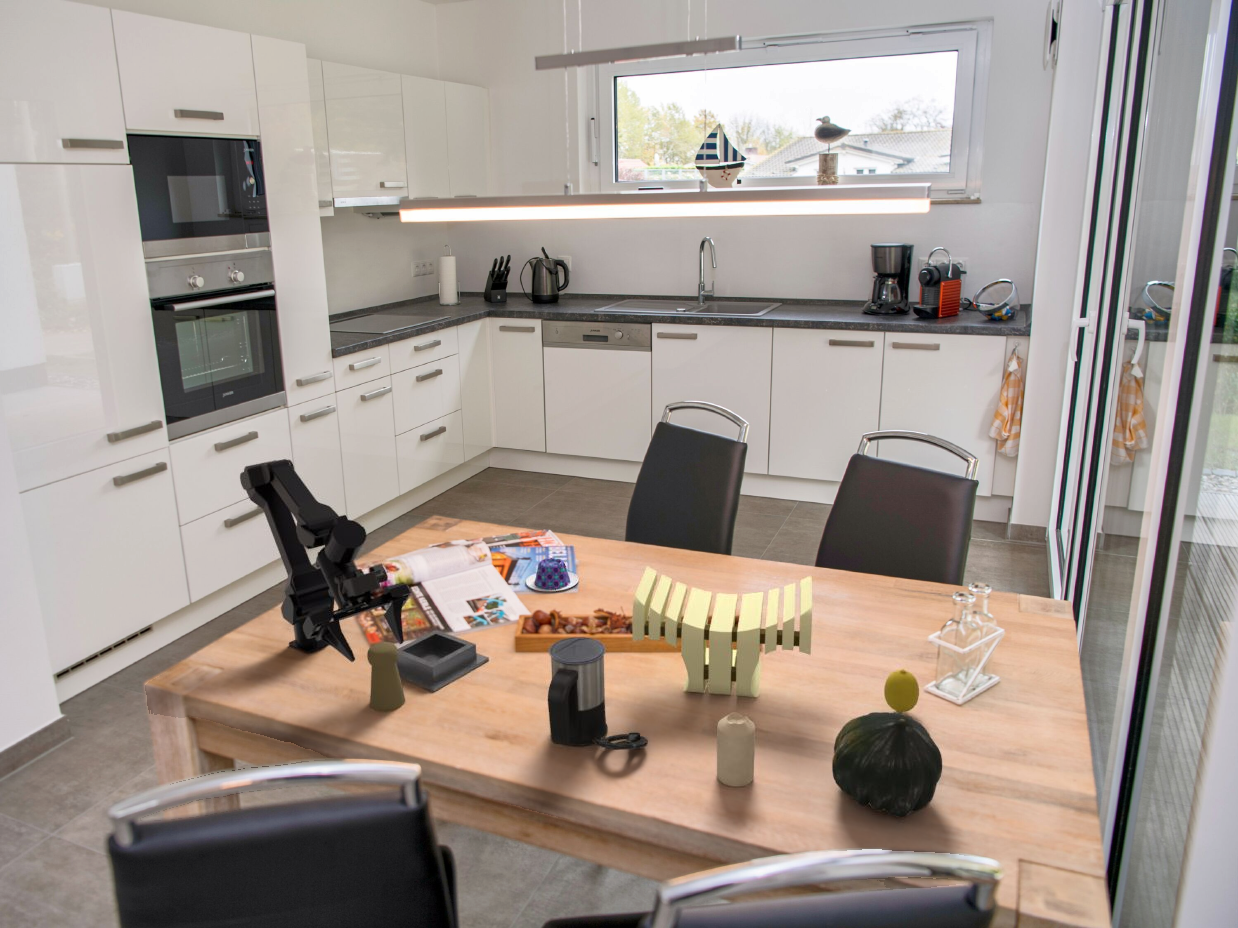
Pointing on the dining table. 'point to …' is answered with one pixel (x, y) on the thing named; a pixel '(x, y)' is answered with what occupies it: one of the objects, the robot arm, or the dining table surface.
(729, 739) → the candle
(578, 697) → the milk frother
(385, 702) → the cork
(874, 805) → the squash
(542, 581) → the pudding
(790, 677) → the dining table surface
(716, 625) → the slatted curved stool
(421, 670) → the collar holder
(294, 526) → the robot arm
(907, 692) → the lemon
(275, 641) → the dining table surface
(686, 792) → the dining table surface
